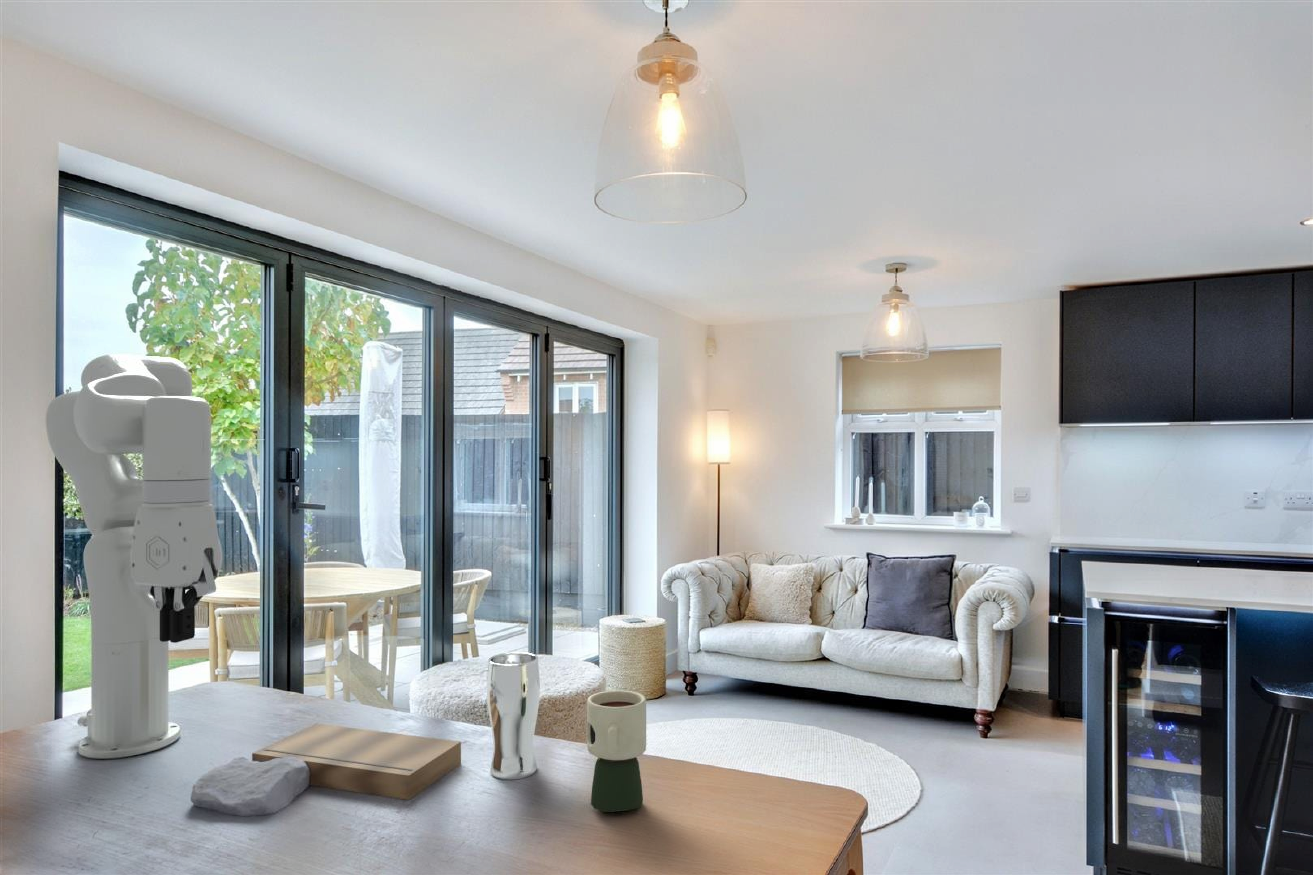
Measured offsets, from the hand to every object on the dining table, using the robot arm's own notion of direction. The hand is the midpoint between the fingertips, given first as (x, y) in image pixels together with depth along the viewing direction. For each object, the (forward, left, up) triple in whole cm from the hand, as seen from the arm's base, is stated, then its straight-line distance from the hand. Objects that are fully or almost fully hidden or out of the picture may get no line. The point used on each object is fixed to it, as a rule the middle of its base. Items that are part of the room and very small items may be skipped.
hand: (177, 639), depth 104 cm
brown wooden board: (+18, +12, -19) cm, 29 cm away
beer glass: (+38, +18, -19) cm, 46 cm away
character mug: (+55, +12, -19) cm, 59 cm away
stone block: (+10, +1, -20) cm, 22 cm away
